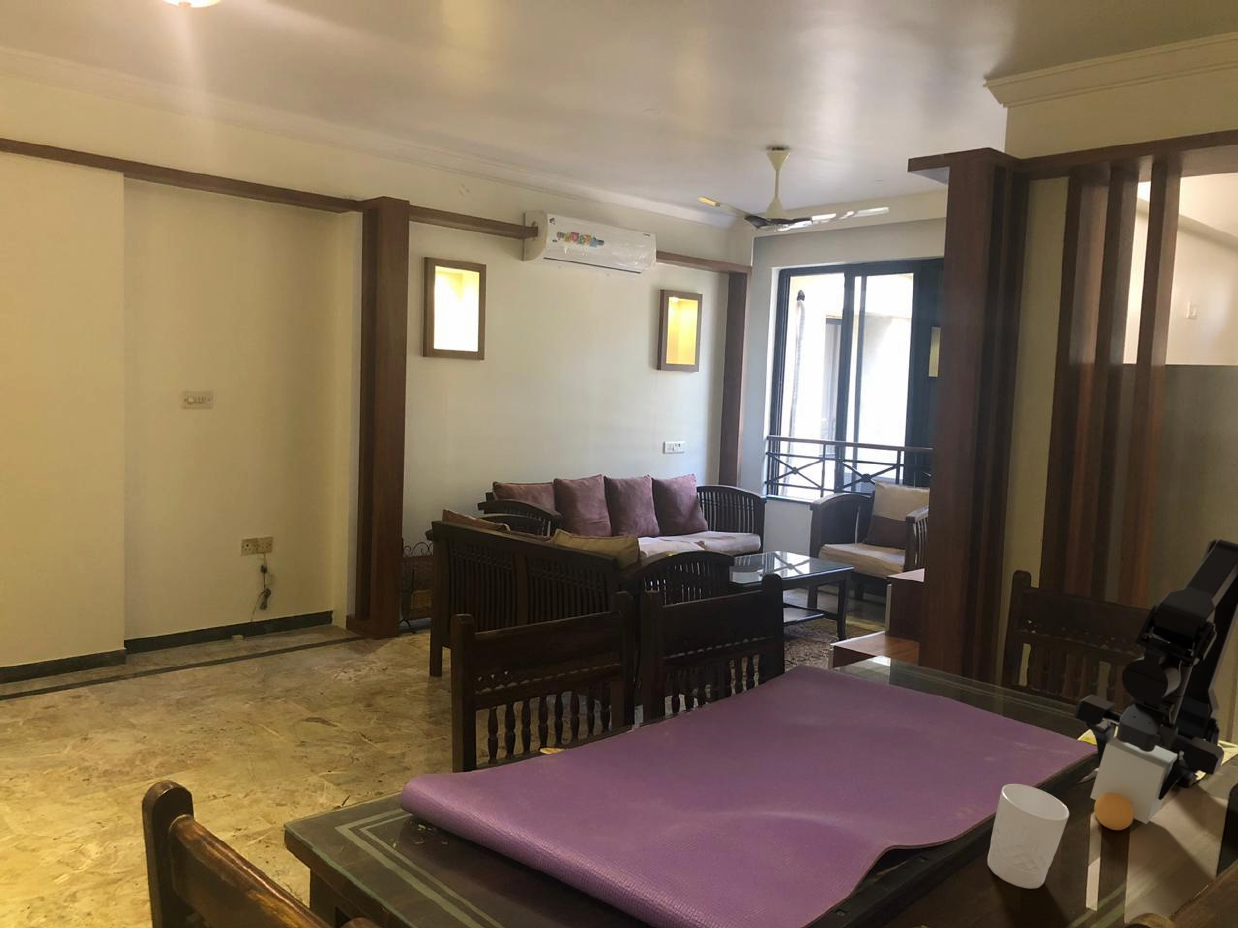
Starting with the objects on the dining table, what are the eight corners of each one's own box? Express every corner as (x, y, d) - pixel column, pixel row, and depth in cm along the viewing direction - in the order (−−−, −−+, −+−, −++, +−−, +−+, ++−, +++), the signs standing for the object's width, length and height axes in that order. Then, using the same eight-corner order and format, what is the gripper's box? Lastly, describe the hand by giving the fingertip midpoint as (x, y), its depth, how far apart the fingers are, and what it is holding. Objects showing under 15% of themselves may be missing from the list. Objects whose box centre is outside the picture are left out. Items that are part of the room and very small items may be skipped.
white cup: (1036, 860, 123) (1056, 791, 121) (1056, 898, 115) (1078, 825, 113) (975, 847, 124) (994, 778, 122) (991, 883, 116) (1012, 810, 114)
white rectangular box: (1106, 783, 145) (1122, 730, 143) (1160, 808, 140) (1177, 754, 138) (1090, 797, 140) (1106, 743, 138) (1146, 823, 134) (1164, 768, 133)
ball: (1105, 780, 137) (1092, 796, 134) (1142, 797, 134) (1130, 813, 131) (1098, 808, 139) (1085, 824, 136) (1134, 825, 136) (1122, 842, 132)
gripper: (1076, 671, 136) (1047, 769, 139) (1222, 728, 124) (1187, 834, 127) (1100, 658, 145) (1072, 751, 147) (1239, 711, 132) (1206, 811, 135)
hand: (1130, 785), depth 139 cm, fingers closed on white rectangular box, 8 cm apart
